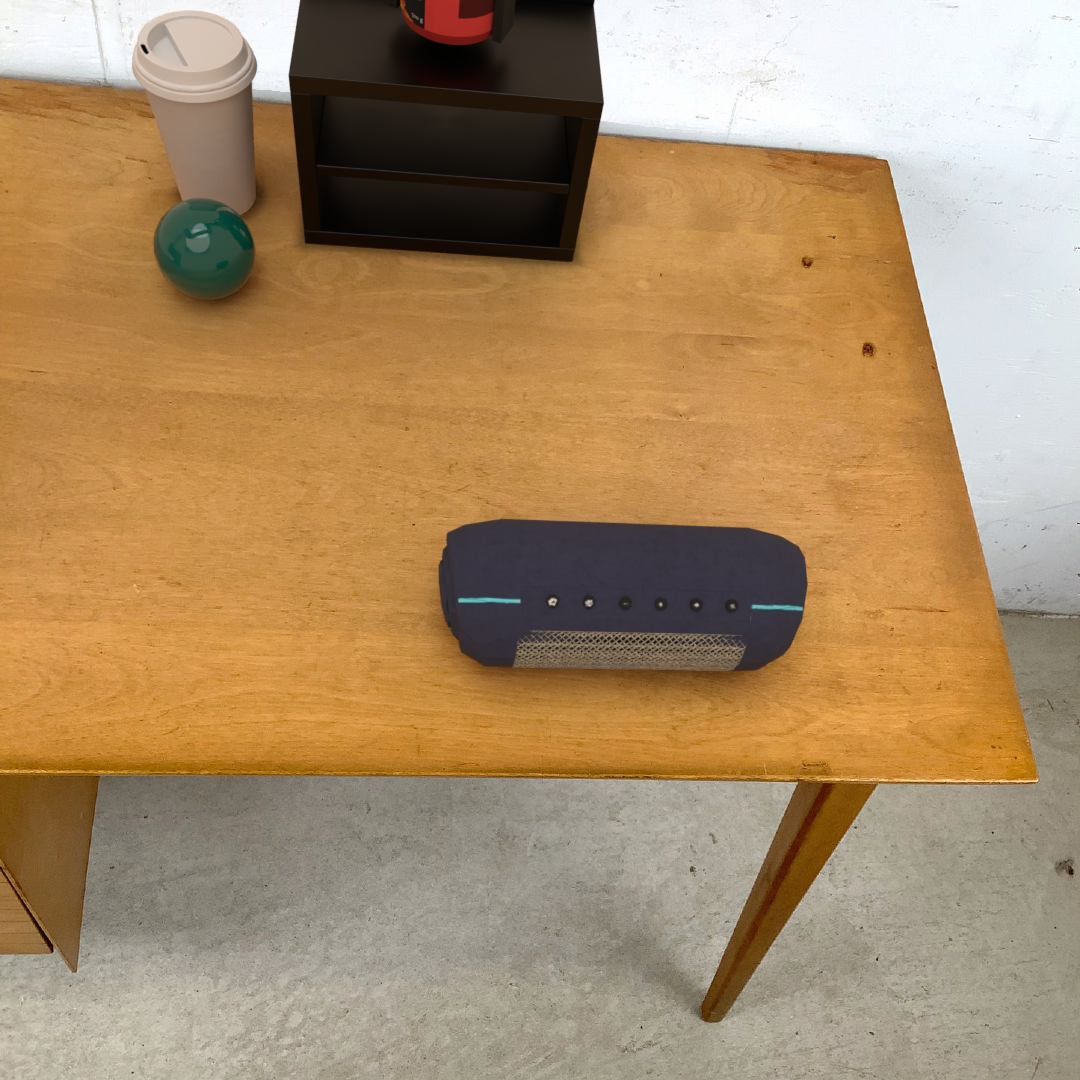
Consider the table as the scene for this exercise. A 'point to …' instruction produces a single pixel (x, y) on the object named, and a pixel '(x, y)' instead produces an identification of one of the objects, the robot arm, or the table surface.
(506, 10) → the robot arm
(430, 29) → the canned food
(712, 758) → the table surface
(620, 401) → the table surface
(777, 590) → the portable speaker
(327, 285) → the table surface
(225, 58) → the coffee cup
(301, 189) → the rack
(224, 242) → the sphere
